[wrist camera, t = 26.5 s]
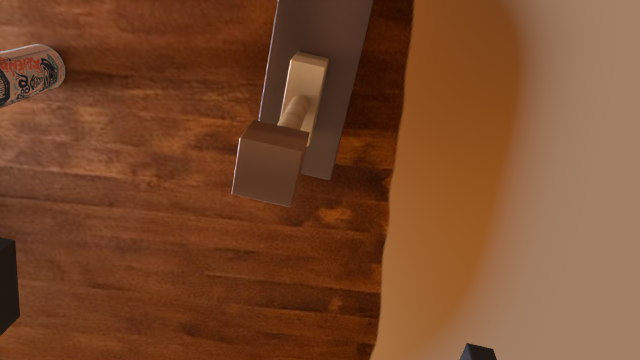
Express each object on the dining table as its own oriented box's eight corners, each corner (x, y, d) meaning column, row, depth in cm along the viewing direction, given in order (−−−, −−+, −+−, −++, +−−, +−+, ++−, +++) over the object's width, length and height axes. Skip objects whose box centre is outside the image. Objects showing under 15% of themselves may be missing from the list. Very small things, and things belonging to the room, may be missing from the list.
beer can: (67, 92, 52) (-12, 124, 41) (24, 81, 52) (-65, 109, 41) (68, 50, 50) (-13, 71, 39) (24, 37, 50) (-70, 55, 39)
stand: (371, -7, 46) (374, -2, 35) (337, 137, 52) (330, 180, 41) (301, -24, 46) (281, -23, 35) (275, 122, 52) (251, 162, 41)
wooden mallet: (294, 50, 37) (243, 105, 21) (332, 59, 37) (309, 120, 21) (281, 123, 39) (227, 220, 24) (316, 131, 39) (286, 234, 24)
